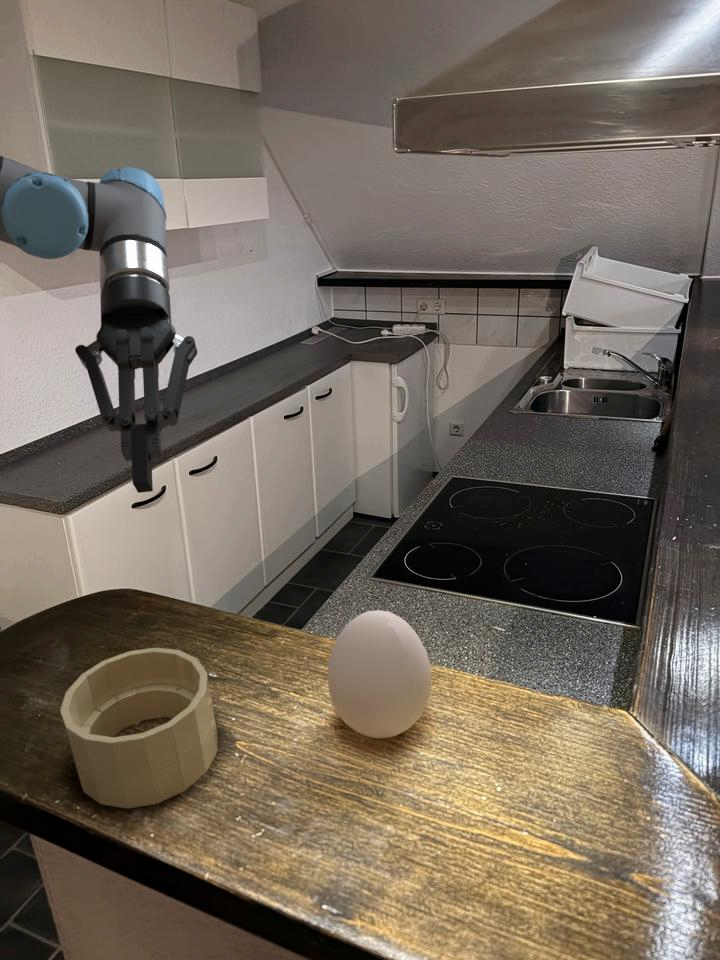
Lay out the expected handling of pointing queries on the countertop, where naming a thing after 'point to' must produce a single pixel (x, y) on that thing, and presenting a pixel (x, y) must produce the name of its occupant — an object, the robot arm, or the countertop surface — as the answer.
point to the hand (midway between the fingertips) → (142, 487)
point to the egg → (379, 675)
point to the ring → (128, 700)
